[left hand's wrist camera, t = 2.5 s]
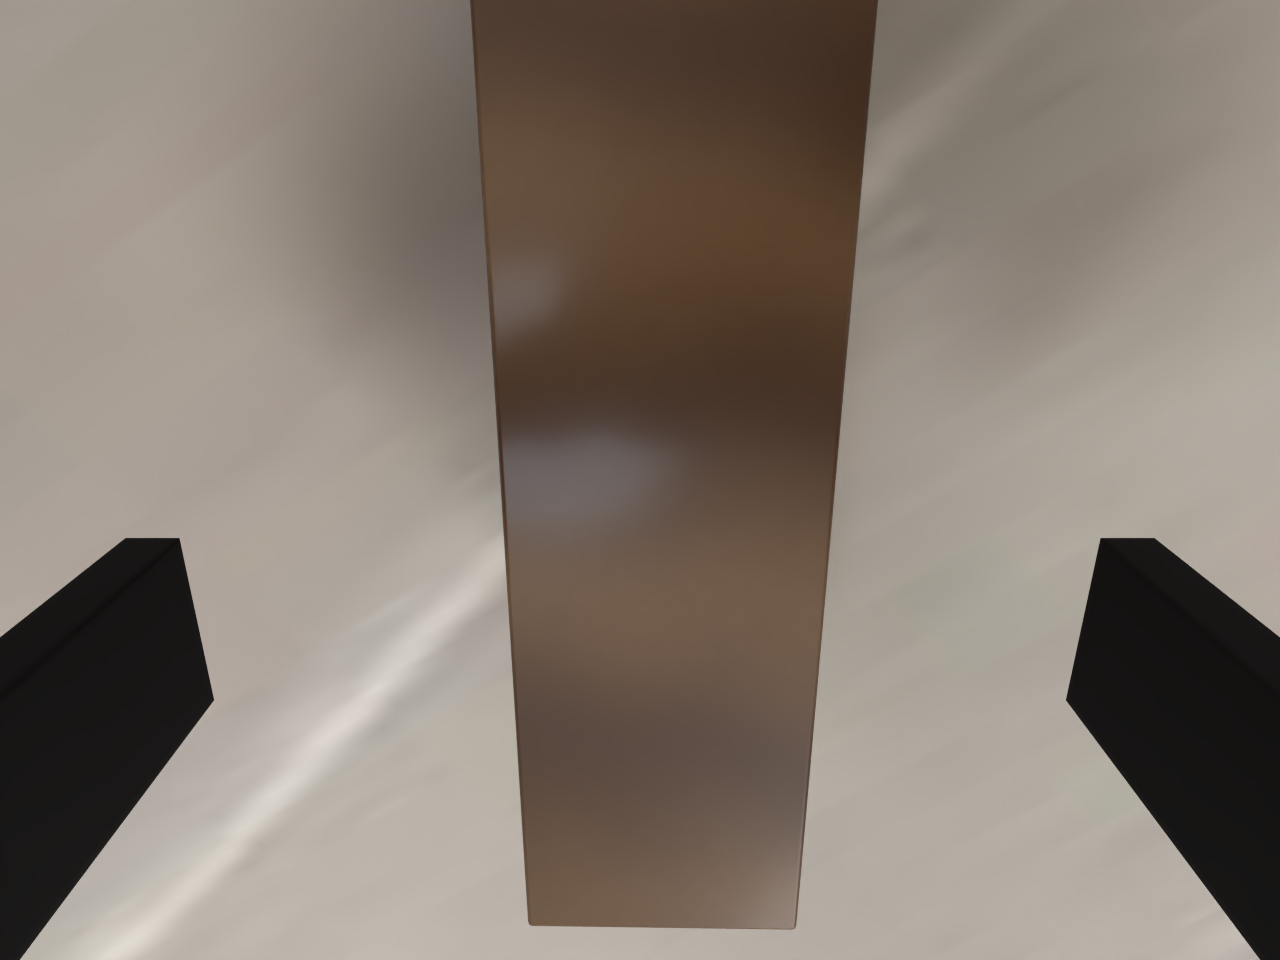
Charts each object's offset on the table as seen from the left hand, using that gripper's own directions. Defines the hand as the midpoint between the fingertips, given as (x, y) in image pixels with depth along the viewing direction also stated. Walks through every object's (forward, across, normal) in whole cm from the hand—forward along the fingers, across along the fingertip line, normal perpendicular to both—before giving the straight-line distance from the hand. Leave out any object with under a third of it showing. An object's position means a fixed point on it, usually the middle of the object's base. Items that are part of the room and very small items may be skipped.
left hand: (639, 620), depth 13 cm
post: (+9, 0, -25) cm, 26 cm away
